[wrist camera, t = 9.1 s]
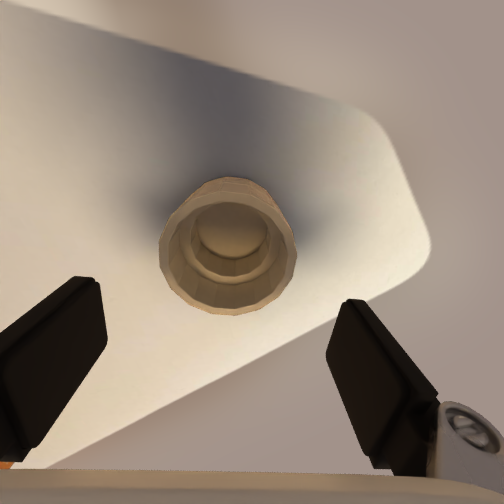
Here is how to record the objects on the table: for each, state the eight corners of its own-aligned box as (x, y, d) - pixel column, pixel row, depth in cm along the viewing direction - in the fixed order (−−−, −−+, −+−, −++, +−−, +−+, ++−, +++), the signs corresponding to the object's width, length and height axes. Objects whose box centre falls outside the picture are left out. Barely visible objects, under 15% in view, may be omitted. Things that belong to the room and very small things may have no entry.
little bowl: (183, 169, 17) (155, 183, 11) (288, 182, 17) (309, 201, 12) (183, 263, 20) (161, 310, 14) (272, 271, 20) (283, 319, 15)
